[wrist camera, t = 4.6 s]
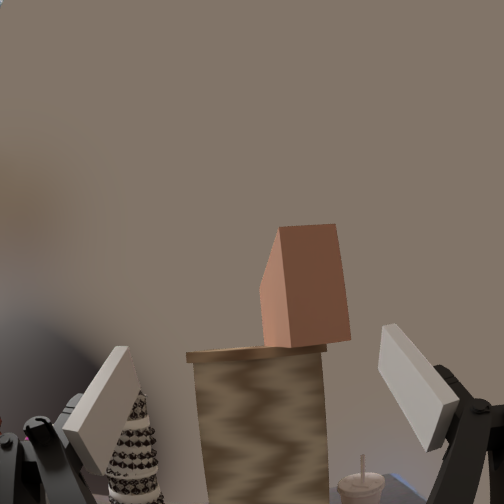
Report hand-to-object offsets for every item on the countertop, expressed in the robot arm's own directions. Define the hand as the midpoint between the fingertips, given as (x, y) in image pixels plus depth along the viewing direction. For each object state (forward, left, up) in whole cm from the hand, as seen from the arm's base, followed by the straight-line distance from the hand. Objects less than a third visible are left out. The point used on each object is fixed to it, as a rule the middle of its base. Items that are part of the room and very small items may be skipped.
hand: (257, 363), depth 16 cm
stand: (0, +21, -29) cm, 36 cm away
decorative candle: (-20, +27, -30) cm, 45 cm away
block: (+3, +16, +1) cm, 17 cm away
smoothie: (+12, +23, -30) cm, 40 cm away
